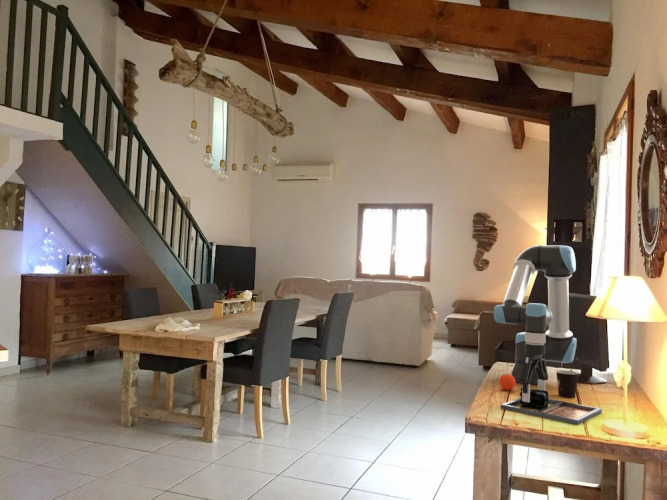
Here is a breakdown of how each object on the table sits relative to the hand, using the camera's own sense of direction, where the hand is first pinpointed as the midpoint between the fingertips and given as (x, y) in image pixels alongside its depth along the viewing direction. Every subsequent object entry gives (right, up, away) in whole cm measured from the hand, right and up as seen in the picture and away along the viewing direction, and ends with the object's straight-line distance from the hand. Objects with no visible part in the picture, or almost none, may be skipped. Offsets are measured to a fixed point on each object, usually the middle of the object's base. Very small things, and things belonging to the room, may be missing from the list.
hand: (533, 399), depth 218 cm
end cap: (0, -3, 0) cm, 3 cm away
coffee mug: (+21, -4, +19) cm, 28 cm away
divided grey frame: (+5, -3, -4) cm, 7 cm away
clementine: (-2, -4, +29) cm, 30 cm away
